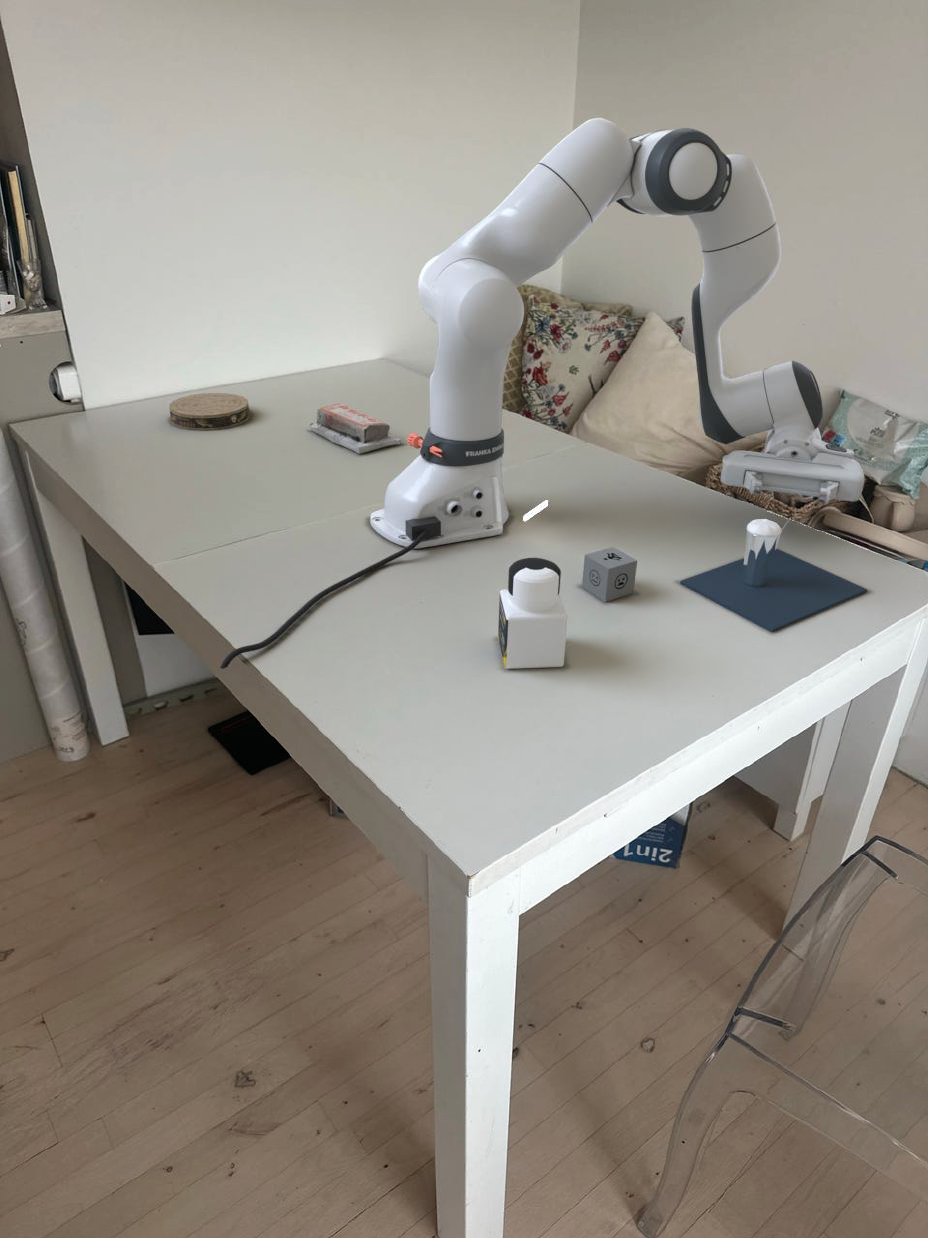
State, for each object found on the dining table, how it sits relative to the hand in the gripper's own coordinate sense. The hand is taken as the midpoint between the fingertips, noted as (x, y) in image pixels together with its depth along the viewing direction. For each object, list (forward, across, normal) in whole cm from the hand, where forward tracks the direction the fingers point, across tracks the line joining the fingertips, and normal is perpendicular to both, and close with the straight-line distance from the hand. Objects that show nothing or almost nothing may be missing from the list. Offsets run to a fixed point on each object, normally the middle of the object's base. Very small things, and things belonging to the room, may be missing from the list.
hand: (789, 494), depth 131 cm
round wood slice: (-27, -114, +10) cm, 118 cm away
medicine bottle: (+39, -28, +10) cm, 49 cm away
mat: (+11, 0, +10) cm, 15 cm away
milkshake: (+11, -2, +10) cm, 15 cm away
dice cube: (+20, -22, +10) cm, 31 cm away
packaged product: (-26, -81, +10) cm, 86 cm away
